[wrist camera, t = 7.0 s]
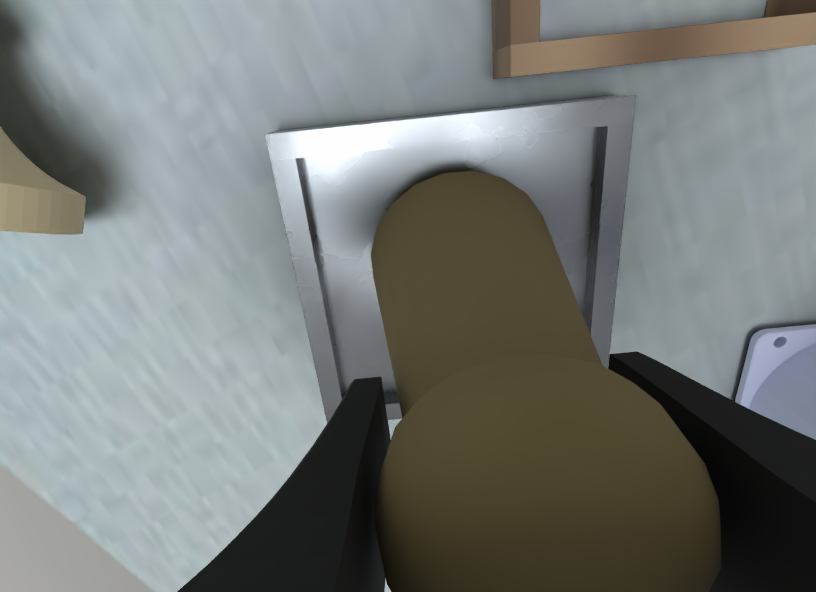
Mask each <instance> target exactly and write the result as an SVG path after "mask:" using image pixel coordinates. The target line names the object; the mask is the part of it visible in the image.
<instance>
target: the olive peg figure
mask: <svg viewBox="0 0 816 592" xmlns="http://www.w3.org/2000/svg"><path fill="white" fill-rule="evenodd" d="M371 261H372V269H373V277H374V283H375V288H376V292H377V297H378V302H379V307H380V312H381V317H382V322H383V327H384V331H385V336H386V341H387V346H388V351H389V356H390V361H391V366H392V370H393V375H394V380H395V385H396V390H397V395H398V400H399V405H400V409H401V414H402V420H401V421H400V422H399V423H398V425H397V426H396V427H395V429H394V433H393V436H392V439H391V442H390V445H389V448H388V451H387V454H386V457H385V460H384V463H383V466H382V469H381V472H380V475H379V478H378V482H377V485H376V494H375V514H374V522H375V527H376V533H377V539H378V544H379V550H380V555H381V559H382V564H383V568H384V573H385V577H386V582H387V585H388V586H389V588H390V590H391V592H709V591H710V589H711V587H712V585H713V584H714V582H715V580H716V578H717V576H718V574H719V572H720V570H721V568H722V563H721V523H720V509H719V499H718V497H717V494H716V492H715V489H714V486H713V484H712V481H711V479H710V476H709V473H708V471H707V468H706V465H705V463H704V462H703V460H702V459H701V458H700V456H699V455H698V454H697V452H696V451H695V450H694V448H693V447H692V446H691V444H690V443H689V442H688V440H687V439H686V438H685V436H684V435H683V434H682V432H681V431H680V430H679V428H678V427H677V426H676V424H675V423H674V422H673V420H672V419H671V418H670V416H669V415H668V414H667V412H666V411H665V410H664V408H663V407H662V406H661V404H660V403H659V402H657V401H656V400H655V399H654V398H652V397H651V396H650V395H648V394H647V393H646V392H645V391H643V390H642V389H641V388H640V387H638V386H637V385H636V384H634V383H633V382H631V381H630V380H628V379H626V378H624V377H622V376H621V375H619V374H617V373H615V372H613V371H611V370H610V369H608V368H606V367H604V366H603V365H602V362H601V360H600V357H599V355H598V352H597V350H596V347H595V345H594V342H593V340H592V337H591V335H590V332H589V330H588V327H587V325H586V322H585V320H584V317H583V315H582V312H581V310H580V307H579V305H578V302H577V300H576V297H575V295H574V292H573V290H572V287H571V285H570V282H569V280H568V278H567V275H566V273H565V270H564V268H563V265H562V263H561V260H560V258H559V255H558V253H557V250H556V248H555V245H554V243H553V240H552V238H551V235H550V233H549V230H548V228H547V225H546V223H545V220H544V218H543V215H542V214H541V212H540V211H539V210H538V208H537V207H536V205H535V204H534V203H533V201H532V200H531V198H530V197H529V196H528V194H527V193H525V192H524V191H522V190H521V189H519V188H518V187H516V186H515V185H513V184H512V183H510V182H509V181H507V180H506V179H504V178H502V177H497V176H493V175H489V174H485V173H481V172H477V171H465V172H452V173H443V174H440V175H438V176H435V177H433V178H430V179H428V180H425V181H423V182H420V183H418V184H415V185H414V186H413V187H411V188H410V189H409V190H408V191H407V192H405V193H404V194H403V195H402V196H401V197H399V198H398V199H397V200H396V201H395V202H393V203H392V204H391V206H390V207H389V209H388V211H387V212H386V214H385V215H384V217H383V219H382V220H381V222H380V223H379V225H378V226H377V228H376V233H375V237H374V241H373V246H372V250H371Z"/></svg>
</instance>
